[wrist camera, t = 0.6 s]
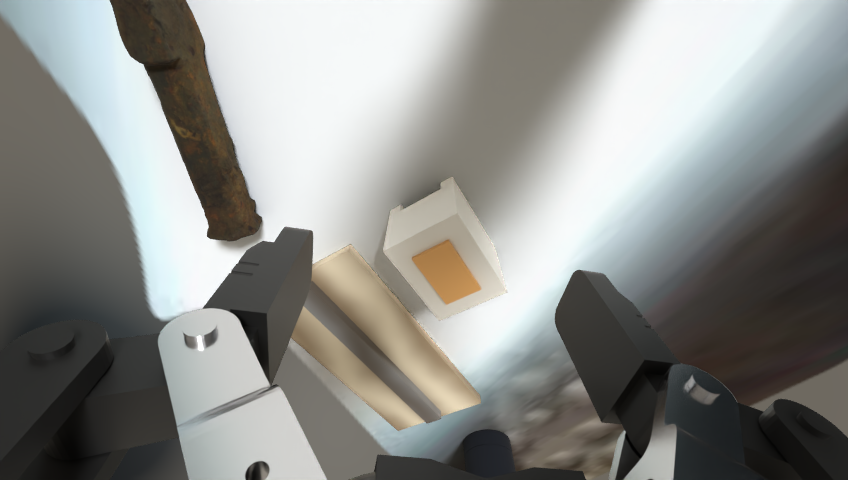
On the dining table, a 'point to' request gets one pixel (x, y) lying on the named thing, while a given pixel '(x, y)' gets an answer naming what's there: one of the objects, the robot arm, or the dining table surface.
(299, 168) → the dining table surface
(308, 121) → the dining table surface
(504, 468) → the wine bottle
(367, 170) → the dining table surface
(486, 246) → the block
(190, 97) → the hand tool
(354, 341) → the rail board
